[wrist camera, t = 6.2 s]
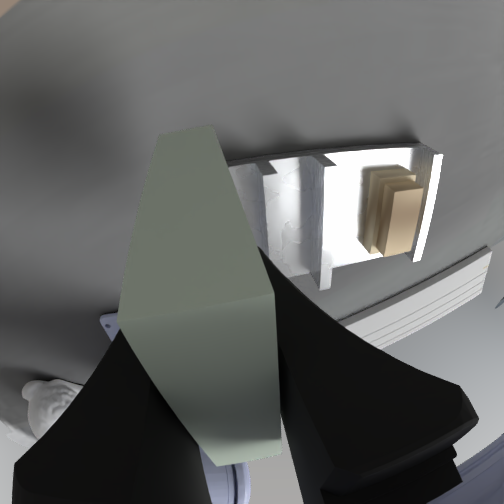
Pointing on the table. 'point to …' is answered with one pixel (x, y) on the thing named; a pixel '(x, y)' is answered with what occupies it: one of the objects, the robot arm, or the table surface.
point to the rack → (326, 203)
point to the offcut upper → (398, 217)
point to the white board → (421, 303)
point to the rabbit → (47, 402)
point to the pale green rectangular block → (203, 302)
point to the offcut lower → (380, 202)
